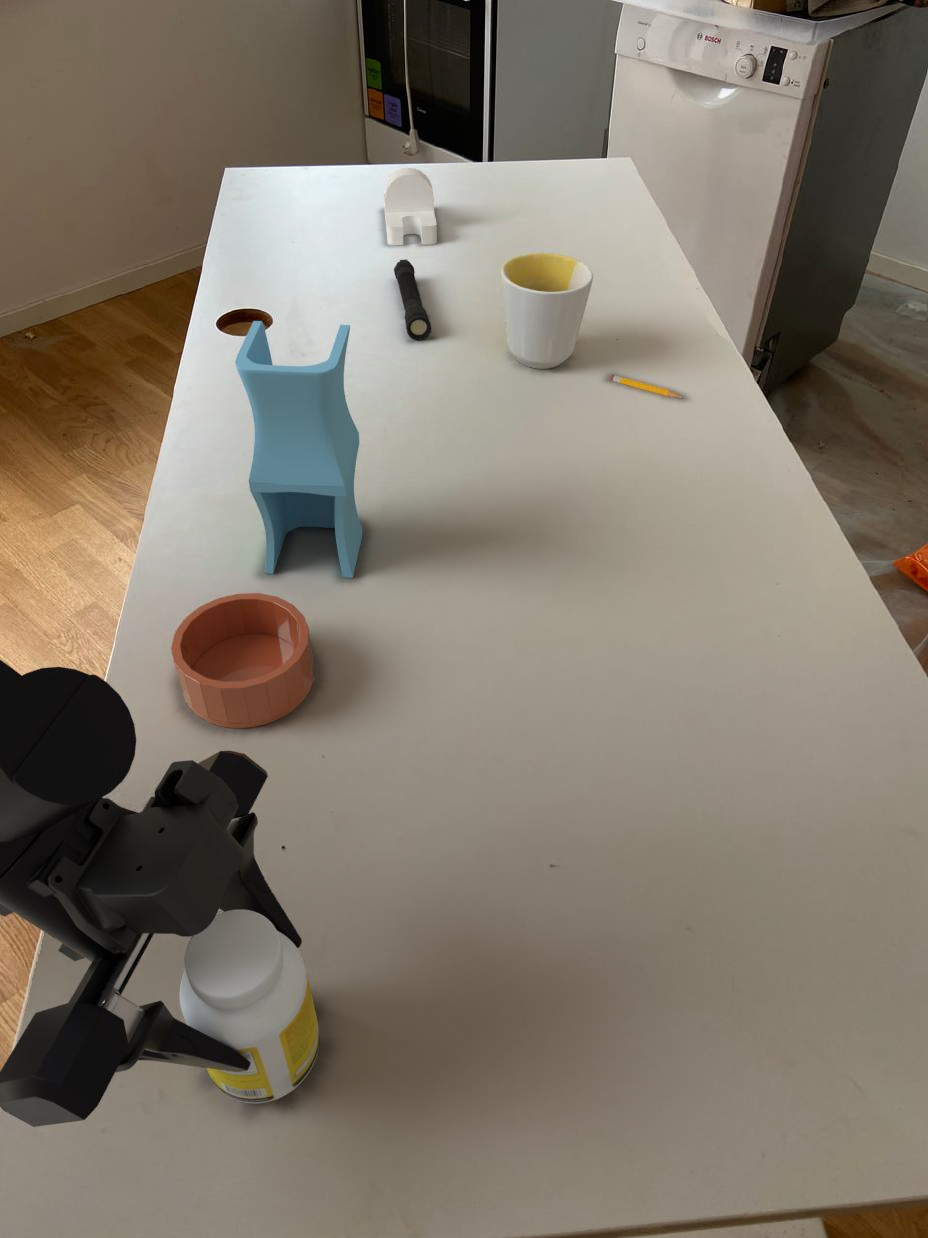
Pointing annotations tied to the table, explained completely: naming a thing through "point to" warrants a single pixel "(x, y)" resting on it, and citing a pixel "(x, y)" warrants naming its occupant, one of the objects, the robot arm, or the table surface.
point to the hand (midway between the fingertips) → (272, 1004)
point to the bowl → (244, 659)
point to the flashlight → (412, 302)
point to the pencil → (644, 386)
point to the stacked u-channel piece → (302, 446)
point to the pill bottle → (251, 1004)
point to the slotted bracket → (409, 207)
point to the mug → (544, 306)
